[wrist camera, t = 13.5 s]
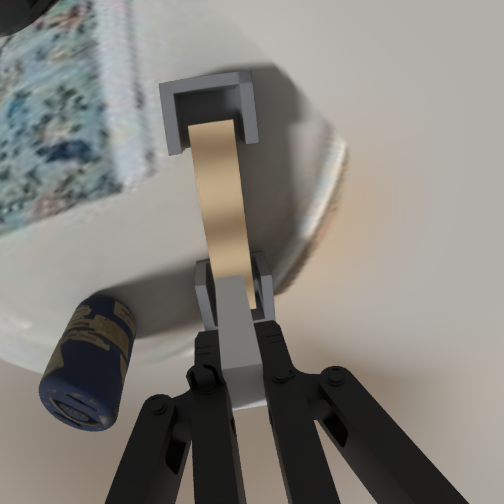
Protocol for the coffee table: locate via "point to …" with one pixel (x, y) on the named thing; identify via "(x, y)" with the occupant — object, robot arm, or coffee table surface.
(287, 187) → the coffee table surface
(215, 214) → the slat
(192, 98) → the endcap
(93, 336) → the canister
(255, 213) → the coffee table surface
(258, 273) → the endcap
